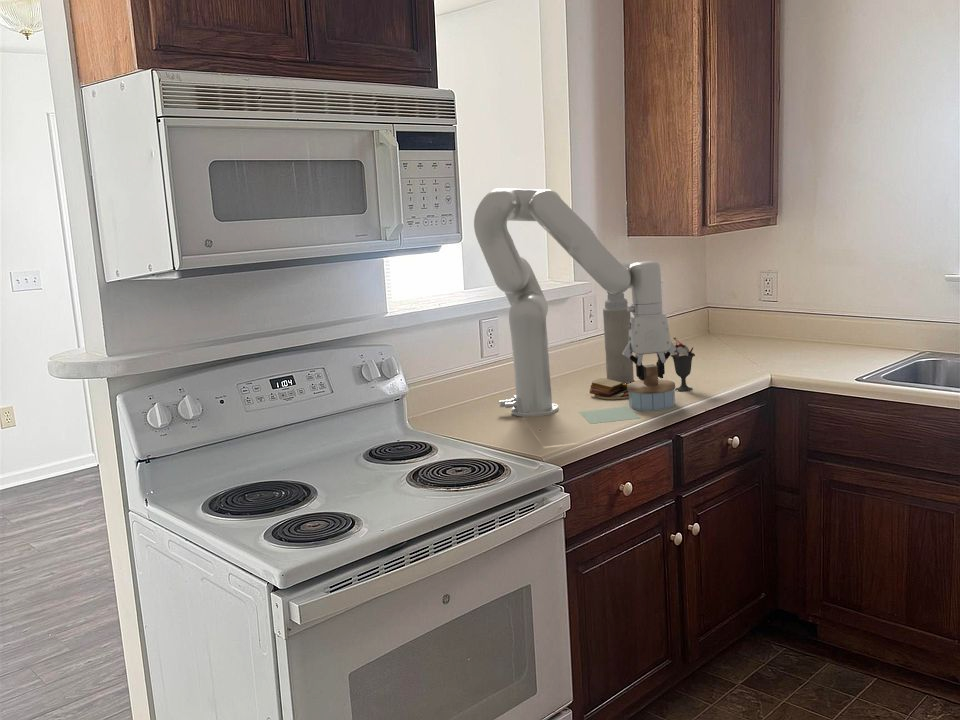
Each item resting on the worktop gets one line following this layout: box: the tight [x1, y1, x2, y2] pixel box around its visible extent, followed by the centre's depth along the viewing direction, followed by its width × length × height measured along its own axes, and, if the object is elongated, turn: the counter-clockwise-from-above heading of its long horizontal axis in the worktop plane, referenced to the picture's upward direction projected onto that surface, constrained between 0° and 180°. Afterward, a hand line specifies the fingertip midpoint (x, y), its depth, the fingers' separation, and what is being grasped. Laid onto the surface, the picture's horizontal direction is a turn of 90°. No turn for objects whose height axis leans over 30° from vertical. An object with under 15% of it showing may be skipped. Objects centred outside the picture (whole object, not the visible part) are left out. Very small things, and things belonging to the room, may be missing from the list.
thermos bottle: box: [602, 291, 635, 384], centre depth 264 cm, size 8×8×28 cm
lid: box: [627, 363, 676, 394], centre depth 232 cm, size 12×12×6 cm
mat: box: [578, 406, 642, 425], centre depth 227 cm, size 13×13×1 cm
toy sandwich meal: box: [589, 377, 629, 401], centre depth 248 cm, size 12×14×5 cm
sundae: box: [669, 337, 696, 392], centre depth 248 cm, size 7×7×15 cm
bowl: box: [628, 389, 676, 412], centre depth 233 cm, size 12×12×5 cm
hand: (650, 377), depth 232 cm, fingers open, 4 cm apart
